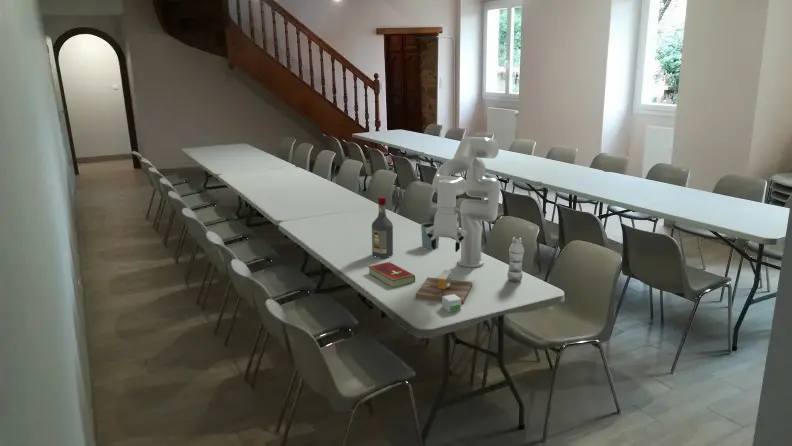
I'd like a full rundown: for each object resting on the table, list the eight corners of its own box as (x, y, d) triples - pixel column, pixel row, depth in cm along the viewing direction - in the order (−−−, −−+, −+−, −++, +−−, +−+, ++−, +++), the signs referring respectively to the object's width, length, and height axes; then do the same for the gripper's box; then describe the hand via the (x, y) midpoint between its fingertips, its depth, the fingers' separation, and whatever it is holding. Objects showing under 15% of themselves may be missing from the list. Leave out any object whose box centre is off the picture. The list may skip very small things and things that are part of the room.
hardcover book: (389, 269, 278) (389, 260, 277) (415, 282, 261) (415, 274, 260) (368, 274, 272) (367, 265, 271) (392, 288, 255) (392, 279, 254)
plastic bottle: (512, 277, 266) (514, 234, 261) (525, 280, 262) (527, 238, 256) (504, 280, 262) (506, 237, 257) (516, 284, 257) (519, 241, 252)
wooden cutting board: (427, 281, 261) (427, 276, 261) (472, 286, 256) (472, 281, 255) (415, 298, 243) (415, 293, 243) (463, 303, 237) (463, 299, 237)
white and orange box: (442, 282, 254) (442, 269, 252) (452, 283, 253) (452, 270, 251) (436, 291, 244) (436, 278, 242) (446, 292, 243) (447, 279, 241)
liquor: (380, 251, 302) (380, 194, 294) (395, 254, 297) (394, 197, 289) (369, 256, 295) (368, 198, 287) (384, 259, 290) (383, 200, 282)
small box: (448, 312, 230) (449, 301, 228) (441, 307, 235) (441, 295, 233) (461, 310, 232) (461, 298, 231) (453, 304, 237) (454, 293, 236)
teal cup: (419, 249, 306) (419, 227, 302) (422, 243, 315) (422, 221, 312) (439, 250, 304) (439, 227, 301) (440, 244, 314) (441, 222, 310)
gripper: (469, 209, 241) (467, 249, 245) (428, 206, 246) (427, 245, 250) (465, 213, 234) (464, 254, 238) (423, 210, 239) (423, 250, 243)
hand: (445, 249), depth 244 cm, fingers open, 9 cm apart
